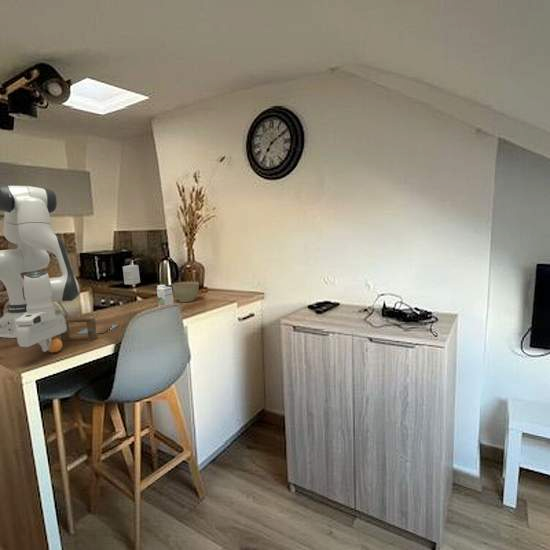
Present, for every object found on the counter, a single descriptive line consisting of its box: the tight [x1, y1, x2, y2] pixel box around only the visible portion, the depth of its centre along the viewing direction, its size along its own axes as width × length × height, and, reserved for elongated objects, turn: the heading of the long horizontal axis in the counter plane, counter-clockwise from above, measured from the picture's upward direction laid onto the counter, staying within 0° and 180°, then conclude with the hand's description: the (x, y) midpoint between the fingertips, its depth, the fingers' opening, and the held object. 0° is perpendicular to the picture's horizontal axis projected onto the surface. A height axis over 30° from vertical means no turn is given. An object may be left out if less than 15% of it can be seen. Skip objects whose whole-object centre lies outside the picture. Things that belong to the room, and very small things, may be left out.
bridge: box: [59, 316, 98, 341], centre depth 155 cm, size 3×14×9 cm, turn 84°
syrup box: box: [156, 285, 174, 308], centre depth 192 cm, size 6×6×14 cm
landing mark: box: [76, 324, 119, 335], centre depth 169 cm, size 13×13×1 cm
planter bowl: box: [171, 281, 200, 303], centre depth 223 cm, size 16×16×11 cm
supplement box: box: [122, 264, 141, 286], centre depth 297 cm, size 9×9×15 cm
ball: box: [48, 337, 64, 354], centre depth 140 cm, size 6×6×6 cm
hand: (46, 350), depth 137 cm, fingers closed
